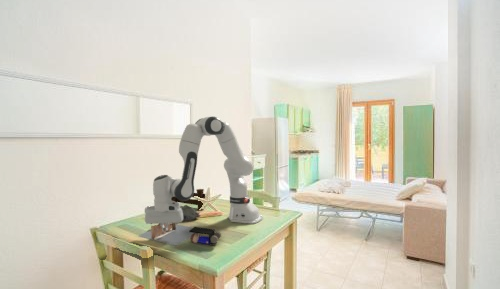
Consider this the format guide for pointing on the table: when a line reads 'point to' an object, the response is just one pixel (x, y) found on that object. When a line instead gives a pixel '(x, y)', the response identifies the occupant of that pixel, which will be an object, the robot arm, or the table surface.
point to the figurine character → (204, 239)
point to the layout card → (171, 235)
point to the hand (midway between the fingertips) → (165, 230)
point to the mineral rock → (189, 213)
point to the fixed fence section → (173, 226)
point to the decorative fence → (192, 201)
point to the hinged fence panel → (155, 232)
